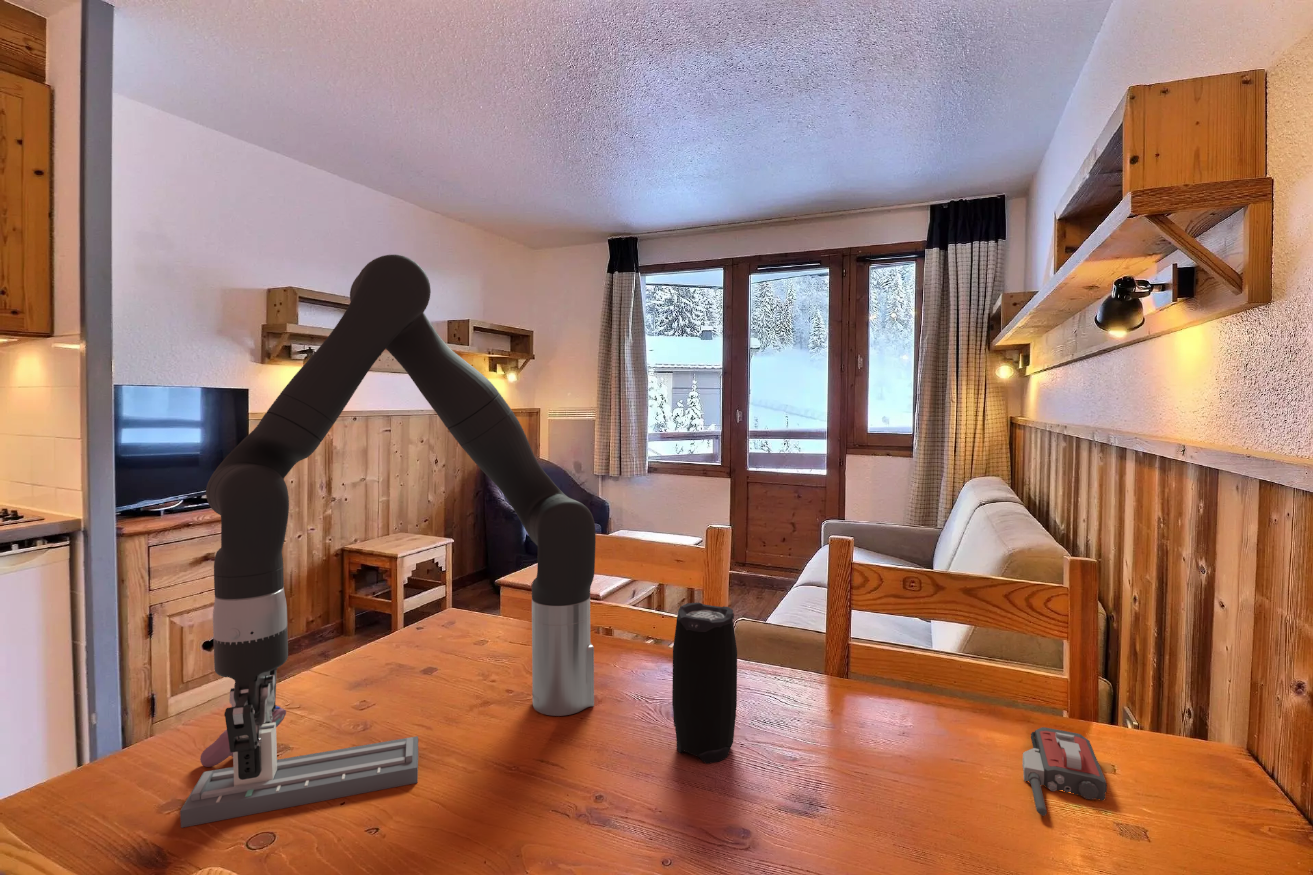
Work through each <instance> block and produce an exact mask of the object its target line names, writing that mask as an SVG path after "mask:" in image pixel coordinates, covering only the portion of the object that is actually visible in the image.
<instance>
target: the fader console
mask: <svg viewBox="0 0 1313 875" xmlns="http://www.w3.org/2000/svg"><path fill="white" fill-rule="evenodd" d="M418 769H419V736H418V735H417V736H411V737H405V738H397V739H392V740H387V741H380V742H375V743H368V744H364V745H357V746H351V747H346V748H345V747H344V748H339V749H334V750H328V751H321V752H315V753H309V754H303V755H297V756H292V757H285V758H279V759H278V758H277V771H276V773H275V775H274V778H273V780H269V781H264V782H258V783H252V784H247V785H241V786H235V787H234V767H233V766H232V767H225V768H220V769H213V770H207V771H203V773H202V774H201V776H200V777H199V779H198V781H197V782H196V784H195V785H194V787H193V788H192V790H191V792H190V794H189V796H188V797H187V798H186V801H185V802H184V804H183V805H182V807H181V809H180V812H179V814H180V815H179V816H180V828H187V827H192V826H197V825H203V824H207V823H213V822H218V821H224V820H229V819H234V818H240V817H244V816H250V815H255V814H260V813H265V812H272V811H277V810H281V809H287V808H293V807H297V806H302V805H303V806H304V805H309V804H313V803H318V802H323V801H324V802H325V801H329V800H335V799H338V798H345V797H350V796H355V795H361V794H366V793H372V792H376V791H381V790H382V791H383V790H386V789H393V788H396V787H397V788H398V787H402V786H408V785H412V784H417V783H418V782H419V780H418V779H419V777H418V776H419V770H418Z"/></svg>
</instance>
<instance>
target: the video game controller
mask: <svg viewBox="0 0 1313 875" xmlns="http://www.w3.org/2000/svg"><path fill="white" fill-rule="evenodd" d="M275 705H276V704H275ZM286 715H287V710H286V709H285V708H282V707H281V706H279V705H278V704H277V705H276V709H275V711H274V712H272V716H273V720H272V722H271V723H273V722H276V728H278V726H280V724H281V723H282V722H283V721H284V720H285V718H286ZM229 757H232V758H233V752H232V753H231V752H230V749H229V740H228V733H227V728H226V729H225V730H224V731H222V732H221V734H219V737H217V739H215V740H214V742H212V743H211V744H210V745H208V746H207V747H206V748H205V749H204V750H203V751H202V752H201V755H200V757H199V758H200V759H199V760H200V763H201V765H202V766H204V767H207V768H210V767H211V768H212V767H215V766H218V765H220V763H222V762H223V761H225V760H227V759H228V758H229Z"/></svg>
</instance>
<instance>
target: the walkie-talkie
mask: <svg viewBox="0 0 1313 875" xmlns="http://www.w3.org/2000/svg"><path fill="white" fill-rule="evenodd" d="M1030 740H1031V744H1032V748H1030V749H1028V750H1026V751H1024V752H1023V753H1022V769H1023V781H1024V782H1025V781H1029V782H1030V783H1029V782H1028V783H1029V784H1030V785H1031V790H1032V795H1033V800H1034V801H1033V802H1034V805H1035V810H1036V812H1037V813H1038V814H1039V815H1040V816H1043V817H1044V816H1045V817H1046V815H1047V813H1048V812H1047V807H1046V803H1045V802H1046V801H1045V799H1044V794H1043V791H1042V790H1043V789H1042V785H1045V786H1046V787H1047V788H1046V787H1045V786H1044V787H1045V788H1046V789H1049V790H1050V791H1051V792H1056V791H1058V790H1063V791H1065V792H1064V793H1067V792H1071V793H1074V794H1073V795H1076V794H1078V795H1077V796H1080V795H1081V797H1082V798H1084V799H1085V800H1098V799H1100V800H1099V801H1105V800H1106V793H1107V792H1108V788H1107V786H1108V784H1107V781H1106V778H1105V775H1104V773H1103V771H1102V767H1101V765H1100V764H1099V761H1098V758H1097V756H1096V754H1095V752H1094V750H1093V747H1092V744H1091V741H1090V740H1089V739H1088V738H1087V737H1084V736H1083V735H1082V734H1081V733H1076V732H1072V731H1066V730H1060V729H1056V728H1052V727H1051V728H1050V727H1044V726H1043V727H1042V726H1041V727H1040V728H1038V729H1035V730H1034V731H1032V732H1031V734H1030ZM1071 793H1070V794H1071ZM1104 799H1105V800H1104Z"/></svg>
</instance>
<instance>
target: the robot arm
mask: <svg viewBox="0 0 1313 875" xmlns="http://www.w3.org/2000/svg"><path fill="white" fill-rule="evenodd" d="M431 289H432V288H431V282H430V280H429V277H428V275H427V274H426V272H425V270H424V269H423V268H422V266H421V265H420V264H418V262H416V260H415V261H414V260H413V259H411V258H409V257H407V256H405V255H402V254H401V255H399V254H386V255H382V256H379V257H376V258H374V259H372V260H371V261H369V262H368V263H367V264H365V266H364V267H363V268H362V269H361V271H360V272H359V274H358V275H356V278H354V280H353V282H352V284H351V287H350V291H349V301H350V303H349V304H348V307H347V308H346V310H345V312H344V313H343V315H342V316H341V317H340V319H339V321H338V322H337V324H336V325H335V327H334V328H333V330H332V331H331V332H330V334H328V336H327V338H325V339H324V341H323V342H322V344H321V345H320V346H319V347H318V348H317V350H315V352H314V353H313V354H312V355H310V357H309V359H307V361H306V362H305V363H304V364H303V366H302V367H301V368H299V370H298V371H297V372H296V373H295V375H294V376H293V377H292V378H291V380H290V381H289V382H288V383H287V385H286V386H284V388H283V389H282V391H280V394H279V395H278V396H277V397H276V399H275V400H274V401H273V403H272V404H271V405H270V406H269V408H268V409H267V411H266V412H265V414H264V415H263V417H262V418H261V419H260V421H259V423H257V425H256V427H255V428H253V430H252V431H251V432H250V433H249V434H247V436H245V437H244V438H243V439H242V440H241V441H240V442H239V443H238V445H236V446H235V447H234V448H233V449H232V450H231V452H230V453H228V454H227V455H226V457H224V459H223V460H222V462H220V464H219V465H218V466H217V467H216V469H215V470H214V472H213V473H212V474H211V475H210V478H209V480H208V482H207V484H206V489H205V497H206V500H207V504H208V505H209V507H210V508H211V509H212V511H214V512H215V513H216V514H217V515H219V516H220V523H221V524H220V530H221V532H220V548H219V549H218V550H217V551H216V553H215V556H214V561H213V588H214V590H213V592H214V603H213V610H212V612H213V613H212V631H213V632H212V633H213V637H212V638H213V640H212V641H213V659H214V660H213V665H214V672H215V674H217V675H218V676H220V677H222V678H230V679H232V680H233V681H234V684H233V685H234V686H233V687H232V688H230V690H229V699H228V700H229V704H230V705H231V707H226V709H225V711H224V712H223V713H224V719H225V726H226V729H227V733H228V740H229V749H230V752H231V753H232V752H238V777H239V779H241V780H244V779H250V778H256V777H258V776H259V775H260V773H261V770H262V769H261V742H262V738H261V731H262V724H267V723H271V722H272V720H273V716H272V712H274V711H275V709H276V700H277V699H276V698H277V697H276V696H277V672H278V668H279V667H281V666H282V665H283V664H285V663H286V662H287V660H288V659H289V643H288V641H289V638H288V637H289V636H288V633H289V632H288V606H287V599H286V594H285V593H286V592H285V587H284V586H285V583H284V582H285V580H284V560H283V559H284V558H283V547H284V543H285V540H286V533H287V527H288V520H289V509H290V498H289V497H290V496H289V490H288V487H287V486H288V485H287V484H286V481H285V477H286V476H288V474H289V472H290V471H291V470H292V469H293V468H294V466H295V465H297V463H299V462H300V461H303V460H305V459H307V458H309V457H310V456H311V455H312V454H314V452H316V449H318V447H319V446H320V445H321V442H322V441H323V440H324V439H325V437H326V436H327V434H329V432H330V430H331V429H332V427H333V426H334V424H335V422H336V421H337V420H338V419H339V417H340V415H341V414H342V413H343V411H344V410H345V408H346V406H347V405H348V403H349V401H351V399H352V397H353V395H354V394H355V392H356V391H357V390H358V388H359V386H360V385H361V383H362V382H363V380H364V379H365V377H366V376H367V374H368V373H369V372H370V370H371V368H372V367H373V365H374V364H375V363H376V362H377V360H378V358H380V356H381V355H382V354H383V352H384V351H385V350H387V351H388V352H389V353H390V355H391V356H392V357H393V358H394V359H395V360H396V362H397V363H398V364H399V365H400V366H401V367H402V369H404V370H405V372H406V373H407V375H408V376H409V377H410V379H411V380H412V382H413V383H414V384H415V386H416V388H417V389H418V390H419V392H420V393H421V394H422V396H423V397H424V399H425V400H426V402H427V403H428V404H429V405H430V406H431V408H432V409H433V410H434V412H435V413H436V414H437V416H438V417H439V419H440V420H441V422H442V424H444V426H445V427H446V428H447V430H448V432H449V433H450V434H451V435H452V436H453V438H454V439H455V440H456V441H457V443H458V444H459V446H460V447H461V448H462V450H464V452H465V453H466V454H467V455H468V456H469V457H470V458H471V460H472V461H473V462H474V463H475V464H476V466H477V467H478V468H479V469H480V471H482V472H483V473H484V474H485V475H486V476H487V478H488V479H489V480H491V482H492V483H493V484H494V485H496V487H497V488H498V489H499V490H500V492H501V493H502V494H503V496H505V498H506V500H507V502H508V503H509V505H510V506H511V508H512V509H513V510H514V512H515V514H516V515H517V517H518V519H519V521H520V523H521V524H522V527H523V528H524V529H525V531H526V534H527V535H528V536H529V538H530V540H531V541H532V542H533V544H535V546H537V572H536V573H537V574H536V577H535V578H534V579H533V581H532V583H531V655H532V656H531V657H532V658H531V661H532V662H531V663H532V666H531V667H532V668H531V669H532V676H531V677H532V682H531V683H532V688H531V689H532V691H531V692H532V693H531V695H532V707H533V709H534V711H536V712H538V713H540V714H543V715H547V716H553V717H555V716H556V717H557V716H558V717H560V716H561V717H562V716H568V715H569V716H570V715H573V714H576V713H579V712H581V711H584V710H585V709H587V708H589V707H594V706H595V648H594V645H593V644H592V642H591V588H592V583H593V581H594V577H595V570H596V568H595V567H596V566H595V564H596V538H597V537H596V536H597V535H596V534H597V533H596V523H595V519H594V517H593V513H592V512H591V510H590V509H589V508H588V506H586V505H584V504H583V503H582V502H580V501H578V500H576V499H573V498H571V497H569V496H567V495H566V494H565V493H564V492H563V491H562V490H561V489H560V488H559V487H558V486H557V485H556V484H555V482H554V481H553V479H551V477H550V476H549V475H548V474H547V473H546V472H545V470H544V468H543V467H542V466H541V465H540V463H539V462H538V460H537V458H536V456H535V454H534V451H533V450H532V448H531V445H530V443H529V440H528V437H527V435H526V433H525V431H524V428H523V427H522V425H521V422H520V421H519V419H518V418H517V417H516V415H515V413H514V411H513V410H512V409H511V407H510V406H509V404H508V403H507V401H506V400H505V399H504V397H503V396H502V394H501V393H500V392H499V390H498V389H497V388H496V387H495V385H494V384H493V383H492V382H491V381H490V380H489V379H488V378H487V377H486V376H484V374H483V373H481V372H480V371H479V370H478V369H477V368H476V367H474V366H472V365H471V364H470V363H468V362H467V361H466V360H465V359H464V358H462V357H461V356H460V355H459V354H457V353H456V352H455V351H454V350H452V349H451V348H450V346H448V345H447V344H446V342H445V341H444V340H443V339H442V337H441V336H440V335H439V334H438V332H437V330H436V329H435V327H434V326H433V325H432V323H431V322H430V320H429V319H428V317H427V315H426V314H425V311H426V310H427V308H428V305H429V302H430V299H431ZM243 735H247V736H248V737H246V738H242V736H243Z"/></svg>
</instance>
